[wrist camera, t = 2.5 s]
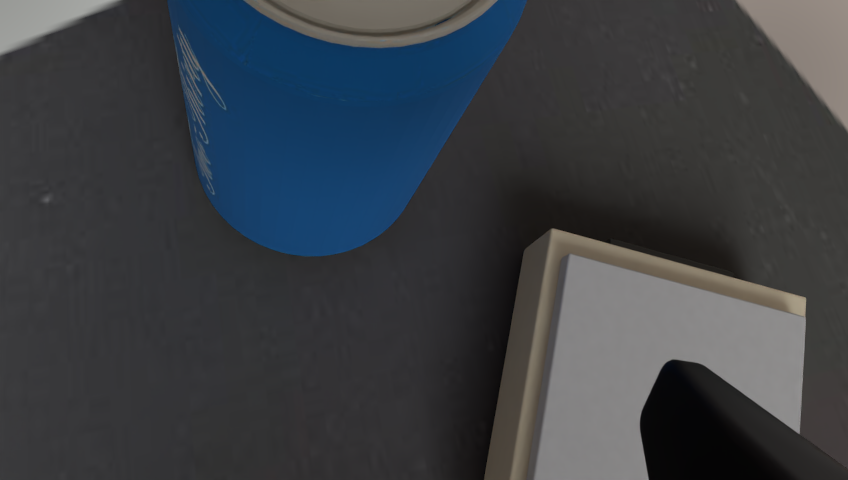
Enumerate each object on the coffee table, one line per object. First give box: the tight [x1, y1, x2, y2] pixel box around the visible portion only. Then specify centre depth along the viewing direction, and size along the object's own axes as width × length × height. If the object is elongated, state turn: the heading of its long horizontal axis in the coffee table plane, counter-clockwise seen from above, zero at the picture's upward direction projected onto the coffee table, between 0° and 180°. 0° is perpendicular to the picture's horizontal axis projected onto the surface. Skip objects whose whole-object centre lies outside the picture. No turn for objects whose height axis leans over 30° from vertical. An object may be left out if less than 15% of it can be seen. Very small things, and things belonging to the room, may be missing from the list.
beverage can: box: [167, 0, 527, 256], centre depth 18 cm, size 6×6×12 cm
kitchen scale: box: [484, 228, 806, 480], centre depth 22 cm, size 9×8×3 cm
